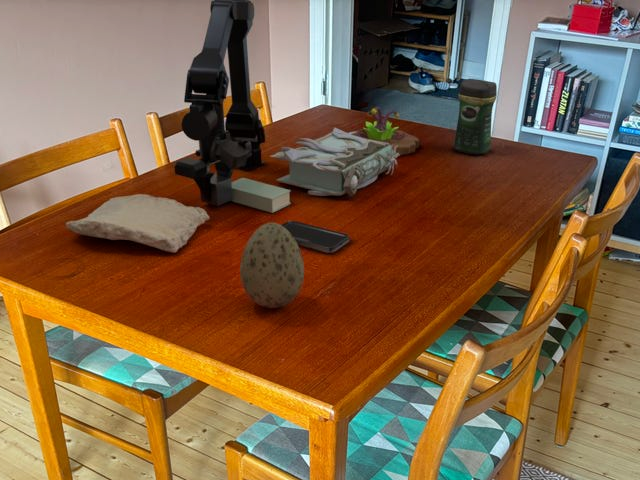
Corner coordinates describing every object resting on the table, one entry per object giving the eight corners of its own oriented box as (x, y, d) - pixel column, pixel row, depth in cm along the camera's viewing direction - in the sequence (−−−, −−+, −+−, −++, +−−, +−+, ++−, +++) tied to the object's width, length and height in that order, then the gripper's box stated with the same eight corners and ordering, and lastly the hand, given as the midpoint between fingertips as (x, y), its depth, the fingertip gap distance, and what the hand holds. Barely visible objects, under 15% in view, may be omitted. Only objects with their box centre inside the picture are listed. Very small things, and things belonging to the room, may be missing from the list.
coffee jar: (493, 150, 203) (503, 80, 193) (480, 157, 198) (489, 85, 188) (462, 144, 208) (470, 74, 198) (448, 150, 203) (455, 79, 193)
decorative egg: (316, 308, 128) (316, 227, 120) (262, 326, 122) (258, 242, 114) (283, 284, 135) (281, 206, 127) (231, 300, 130) (225, 220, 122)
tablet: (166, 266, 142) (213, 219, 157) (159, 231, 138) (208, 186, 152) (60, 251, 149) (115, 207, 164) (50, 217, 145) (107, 175, 159)
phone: (290, 219, 157) (351, 235, 151) (290, 224, 158) (351, 240, 152) (268, 232, 152) (331, 249, 145) (268, 237, 152) (331, 254, 146)
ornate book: (345, 209, 168) (407, 169, 189) (346, 168, 163) (409, 131, 183) (265, 189, 178) (332, 153, 199) (263, 150, 173) (332, 117, 193)
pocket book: (224, 199, 170) (223, 185, 168) (243, 190, 175) (242, 177, 173) (272, 213, 164) (271, 199, 162) (290, 203, 168) (290, 190, 167)
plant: (327, 145, 205) (327, 104, 199) (377, 132, 216) (378, 92, 210) (379, 164, 193) (381, 120, 186) (428, 149, 204) (432, 107, 198)
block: (200, 201, 166) (199, 179, 163) (216, 194, 169) (214, 173, 167) (217, 206, 164) (216, 184, 161) (232, 199, 167) (231, 178, 164)
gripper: (209, 144, 147) (215, 218, 156) (268, 123, 160) (270, 192, 169) (169, 134, 152) (176, 206, 161) (229, 114, 165) (233, 182, 174)
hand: (216, 197), depth 166 cm, fingers closed on block, 5 cm apart
